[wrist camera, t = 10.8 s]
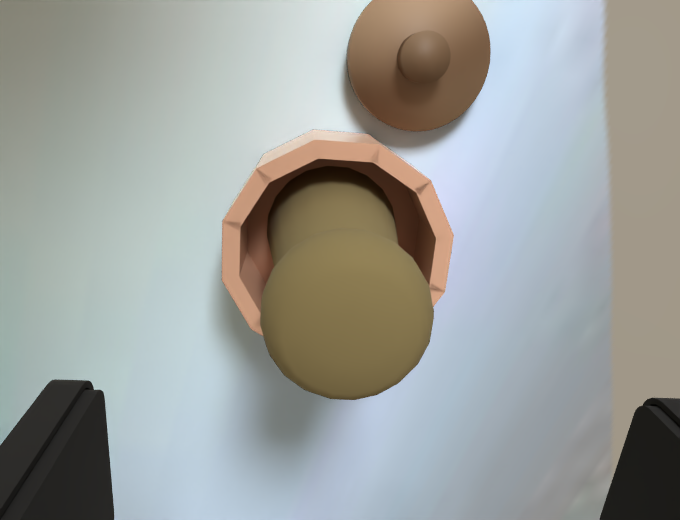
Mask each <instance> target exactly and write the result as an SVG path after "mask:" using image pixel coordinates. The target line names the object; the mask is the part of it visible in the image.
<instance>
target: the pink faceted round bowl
mask: <svg viewBox="0 0 680 520" xmlns="http://www.w3.org/2000/svg"><path fill="white" fill-rule="evenodd" d="M324 166H337V167H348V168H351V169H353V170H355V171H358V172H360V173H362V174H365V175H367V176H368V177H369V178H371V179H372V180H373V181H374V182H375V183H376V184H377V185H378V186H380V187H381V188H382V189H383V191H384V193H385V194H386V196H387V198H388V200H389V201H390V203H391V205H392V207H393V212H394V218H395V223H396V229H397V237H398V245H399V246H400V247H401V248H402V249H403V250H404V251H405V252H407V253H408V254H409V255H410V256H411V257H412V258H413V259H414V261H415V262H416V264H417V265H418V267H419V269H420V271H421V272H422V274H423V276H424V278H425V279H426V281H427V283H428V285H429V287H430V292H431V298H432V304H433V306H434V305H435V304H436V302H437V301H438V300H439V299H440V297H441V296H442V295H443V294H444V292H445V288H446V282H447V275H448V269H449V262H450V256H451V250H452V243H453V237H454V235H453V232H452V230H451V228H450V225H449V223H448V220H447V218H446V216H445V213H444V211H443V208H442V206H441V204H440V201H439V199H438V196H437V194H436V192H435V189H434V187H433V184H432V182H431V180H430V179H428V178H427V177H426V176H425V175H423V174H422V173H421V172H420V171H419V170H417V169H416V168H415V167H414V166H413V165H411V164H410V163H408V162H407V161H406V160H404V159H403V158H401V157H400V156H399V155H397V154H396V153H394V152H393V151H392V150H390V149H389V148H387V147H386V146H385V145H383V144H382V143H380V142H379V141H378V140H376V139H375V138H373V137H372V136H370V135H369V134H364V133H351V132H338V131H325V130H311V131H309V132H307V133H305V134H303V135H301V136H299V137H297V138H295V139H293V140H291V141H289V142H287V143H285V144H283V145H281V146H279V147H277V148H275V149H273V150H271V151H269V152H267V153H265V154H263V156H262V157H261V159H260V160H259V162H258V164H257V165H256V167H255V168H254V170H253V171H252V173H251V175H250V176H249V178H248V179H247V181H246V182H245V184H244V186H243V187H242V189H241V190H240V192H239V193H238V195H237V196H236V198H235V200H234V201H233V203H232V205H231V207H230V208H229V210H228V212H227V214H226V216H225V217H224V219H223V221H222V281H223V283H224V285H225V286H226V288H227V290H228V291H229V293H230V295H231V296H232V298H233V300H234V301H235V303H236V305H237V306H238V308H239V310H240V311H241V313H242V315H243V317H244V318H245V320H246V322H247V323H248V325H249V327H250V328H251V330H253V331H255V332H257V333H258V334H260V335H262V336H263V333H262V330H261V326H260V316H261V299H262V295H263V291H264V289H265V286H266V284H267V281H268V279H269V277H270V274H271V272H272V270H273V268H274V264H273V260H272V255H271V251H270V247H269V242H268V238H267V223H268V214H269V212H270V209H271V207H272V204H273V202H274V199H275V197H276V196H277V195H278V193H279V192H280V191H281V190H282V189H283V188H284V186H285V185H286V184H287V183H288V182H289V181H290V180H292V179H293V178H295V177H297V176H298V175H300V174H302V173H303V172H305V171H307V170H311V169H315V168H319V167H324Z"/></svg>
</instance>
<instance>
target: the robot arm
mask: <svg viewBox="0 0 680 520" xmlns="http://www.w3.org/2000/svg"><path fill="white" fill-rule="evenodd" d="M0 520H114V506H113V494H112V482H111V470H110V458H109V446H108V434H107V422H106V410H105V398H104V393H103V391H101V390H94V389H93V385H92V383H91V382H90V381H83V380H52V381H50V382H49V383H48V384H47V386H46V387H45V388H44V390H43V391H42V392H41V393H40V395H39V396H38V397H37V399H36V400H35V401H34V403H33V404H32V405H31V406H30V408H29V409H28V410H27V412H26V413H25V414H24V416H23V417H22V418H21V419H20V421H19V422H18V423H17V425H16V426H15V427H14V428H13V430H12V431H11V432H10V434H9V435H8V436H7V438H6V439H5V440H4V441H3V443H2V444H1V445H0ZM600 520H680V399H675V398H674V399H673V398H650V399H647V400H646V401H645V402H644V404H643V406H640V407H638V408H637V409H636V411H635V413H634V416H633V419H632V422H631V425H630V428H629V431H628V434H627V438H626V440H625V443H624V447H623V449H622V452H621V456H620V459H619V462H618V465H617V468H616V471H615V474H614V477H613V480H612V483H611V486H610V489H609V492H608V495H607V498H606V501H605V504H604V507H603V510H602V513H601V516H600Z"/></svg>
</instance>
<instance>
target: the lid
mask: <svg viewBox="0 0 680 520" xmlns="http://www.w3.org/2000/svg"><path fill="white" fill-rule="evenodd" d="M489 64H490V40H489V33H488V30H487V26H486V23H485V21H484V19H483V16H482V14H481V13H480V11H479V9H478V8H477V6H476V5H475V4H474V3H473V1H472V0H372V1H371V2H370V3H369V4H368V5H367V7H366V8H365V9H364V10H363V12H362V13H361V14H360V16H359V17H358V19H357V21H356V23H355V25H354V27H353V30H352V32H351V35H350V39H349V43H348V50H347V68H348V75H349V79H350V83H351V85H352V88H353V90H354V92H355V94H356V96H357V98H358V99H359V101H360V102H361V104H362V105H363V106H364V107H365V108H366V109H367V111H368V112H369V113H371V114H372V115H373V116H374V117H376V118H377V119H379V120H380V121H382V122H384V123H386V124H388V125H390V126H392V127H395V128H398V129H402V130H407V131H426V130H432V129H435V128H439V127H441V126H444V125H446V124H448V123H450V122H451V121H453V120H455V119H456V118H457V117H459V116H460V115H461V114H463V113H464V112H465V111H466V110H467V109H468V108H469V107H470V105H471V104H472V103H473V102H474V100H475V99H476V97H477V96H478V94H479V93H480V91H481V89H482V87H483V84H484V82H485V79H486V76H487V73H488V68H489Z"/></svg>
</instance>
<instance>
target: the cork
mask: <svg viewBox="0 0 680 520" xmlns="http://www.w3.org/2000/svg"><path fill="white" fill-rule="evenodd" d="M267 238H268V242H269V247H270V251H271V255H272V260H273V264H274V268H273V270H272V272H271V274H270V277H269V279H268V281H267V284H266V286H265V289H264V291H263V295H262V299H261V316H260V326H261V330H262V333H263V336H264V340H265V343H266V346H267V349H268V352H269V354H270V356H271V358H272V359H273V361H274V362H275V363H276V365H277V366H278V367H279V369H280V370H281V372H282V373H283V374H284V376H286V377H287V378H289V379H290V380H291V381H293V382H294V383H296V384H297V385H298V386H300V387H301V388H303V389H304V390H307V391H309V392H312V393H315V394H318V395H321V396H324V397H327V398H330V399H345V400H356V399H361V398H365V397H369V396H374V395H377V394H379V393H381V392H383V391H385V390H387V389H389V388H390V387H392V386H394V385H396V384H398V383H399V382H400V381H401V380H402V379H403V378H404V377H405V376H406V375H407V374H408V373H409V372H410V371H411V370H412V369H413V368H414V367H415V366H416V365H417V364H418V363H419V361H420V359H421V357H422V356H423V354H424V352H425V350H426V348H427V346H428V344H429V342H430V336H431V331H432V325H433V319H434V310H433V304H432V298H431V292H430V287H429V285H428V283H427V281H426V279H425V278H424V276H423V274H422V272H421V271H420V269H419V267H418V265H417V264H416V262H415V261H414V259H413V258H412V257H411V256H410V255H409V254H408V253H407V252H405V251H404V250H403V249H402V248H401V247H400V246H399V245H398V237H397V229H396V223H395V218H394V212H393V207H392V205H391V203H390V201H389V200H388V198H387V196H386V194H385V193H384V191H383V189H382V188H381V187H380V186H378V185H377V184H376V183H375V182H374V181H373V180H372V179H371V178H369V177H368V176H367V175H365V174H362V173H360V172H358V171H355V170H353V169H351V168H348V167H337V166H324V167H319V168H315V169H311V170H307V171H305V172H303V173H302V174H300V175H298V176H297V177H295V178H293V179H292V180H290V181H289V182H288V183H287V184H286V185H285V186H284V188H283V189H282V190H281V191H280V192H279V193H278V195H277V196H276V197H275V199H274V202H273V204H272V207H271V209H270V212H269V214H268V223H267Z"/></svg>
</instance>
